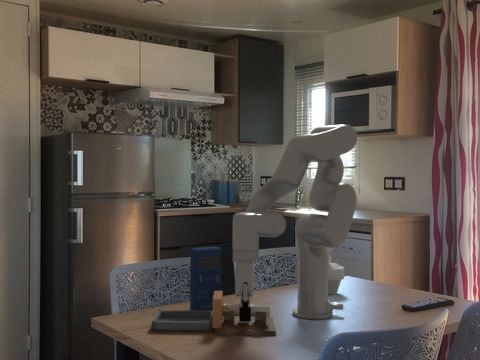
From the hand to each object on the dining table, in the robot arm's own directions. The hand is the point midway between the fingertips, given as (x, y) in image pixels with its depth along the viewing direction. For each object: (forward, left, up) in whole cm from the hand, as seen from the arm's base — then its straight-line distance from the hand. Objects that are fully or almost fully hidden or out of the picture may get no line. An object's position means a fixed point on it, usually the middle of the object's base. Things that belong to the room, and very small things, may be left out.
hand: (244, 318), depth 156 cm
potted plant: (-31, -46, -3) cm, 56 cm away
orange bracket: (+8, 0, -1) cm, 8 cm away
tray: (+18, -2, -3) cm, 18 cm away
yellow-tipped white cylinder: (0, 0, +1) cm, 1 cm away
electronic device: (+13, -20, -3) cm, 24 cm away
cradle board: (0, 0, -3) cm, 3 cm away
